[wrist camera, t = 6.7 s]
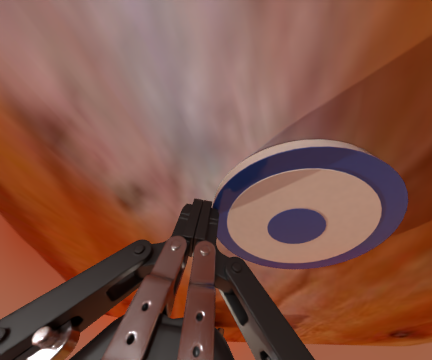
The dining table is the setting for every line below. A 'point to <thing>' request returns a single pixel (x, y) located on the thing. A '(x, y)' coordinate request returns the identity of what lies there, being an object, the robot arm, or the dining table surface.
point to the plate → (309, 204)
